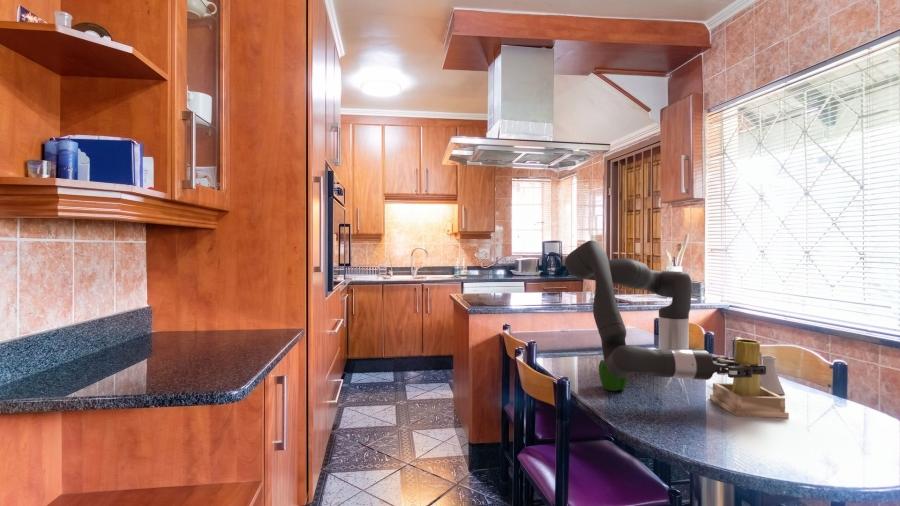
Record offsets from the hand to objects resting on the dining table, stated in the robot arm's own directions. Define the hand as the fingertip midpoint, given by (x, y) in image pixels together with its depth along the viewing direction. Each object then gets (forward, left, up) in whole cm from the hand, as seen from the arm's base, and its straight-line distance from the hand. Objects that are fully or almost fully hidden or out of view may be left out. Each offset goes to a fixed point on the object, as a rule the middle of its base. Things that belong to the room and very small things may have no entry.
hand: (756, 366), depth 106 cm
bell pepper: (-12, -32, -11) cm, 36 cm away
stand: (0, -2, -11) cm, 11 cm away
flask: (-14, +12, -11) cm, 21 cm away
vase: (0, -3, -8) cm, 8 cm away
